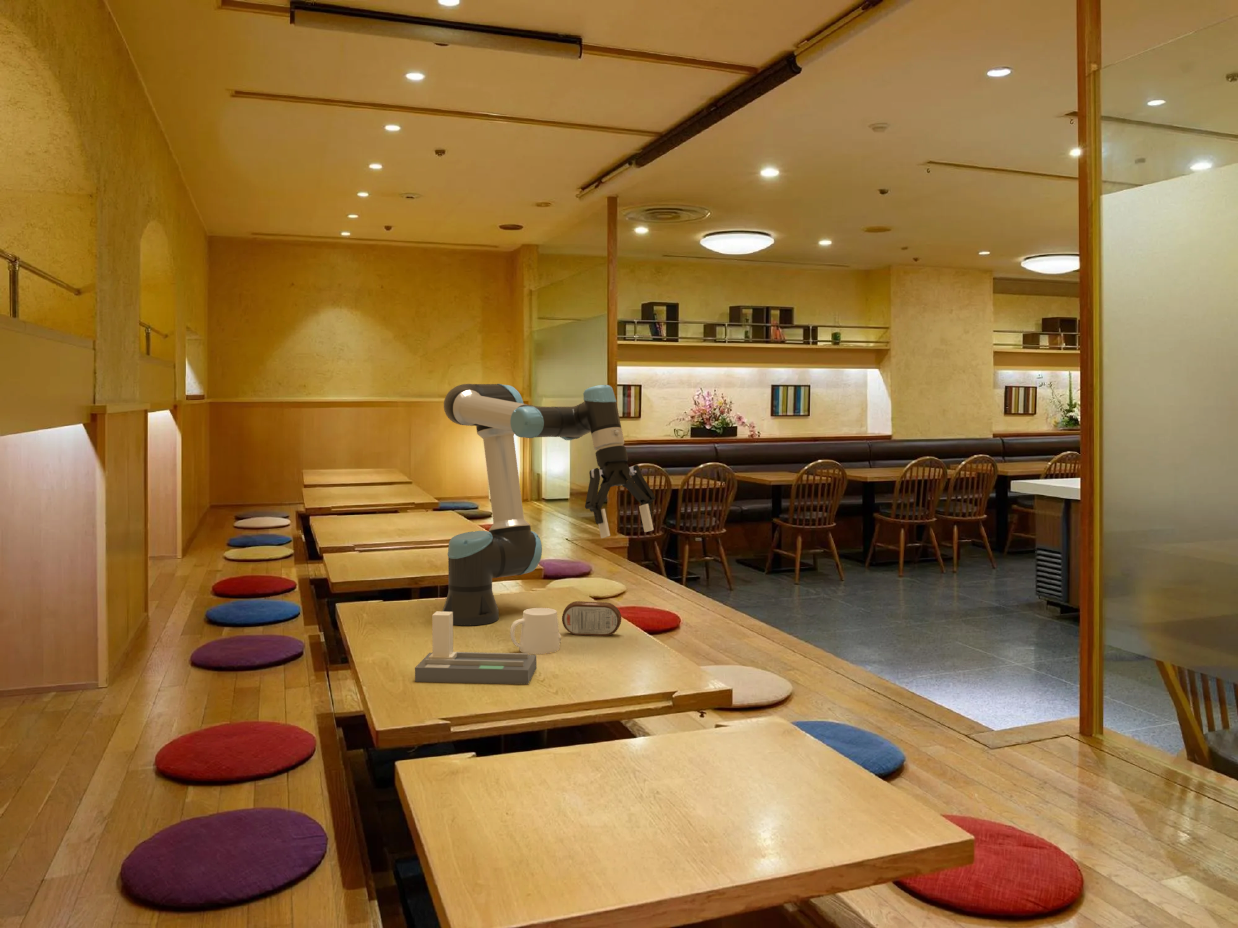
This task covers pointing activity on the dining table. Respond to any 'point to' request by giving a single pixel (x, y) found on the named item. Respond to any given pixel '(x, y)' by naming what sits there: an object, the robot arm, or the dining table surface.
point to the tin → (591, 618)
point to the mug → (537, 631)
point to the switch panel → (478, 668)
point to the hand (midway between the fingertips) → (627, 534)
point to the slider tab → (442, 636)
